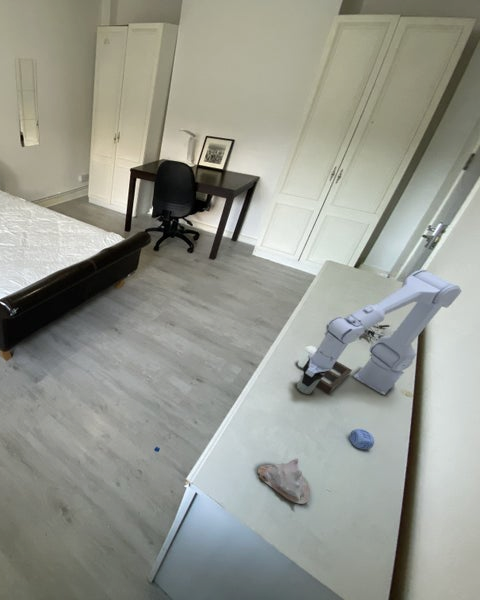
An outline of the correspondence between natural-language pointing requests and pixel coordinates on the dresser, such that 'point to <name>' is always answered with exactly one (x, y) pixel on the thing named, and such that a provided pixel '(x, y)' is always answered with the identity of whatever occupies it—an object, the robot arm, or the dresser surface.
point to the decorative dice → (361, 439)
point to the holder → (334, 377)
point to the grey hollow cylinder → (309, 389)
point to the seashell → (286, 480)
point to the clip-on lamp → (383, 333)
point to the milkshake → (304, 358)
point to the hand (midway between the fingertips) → (309, 381)
